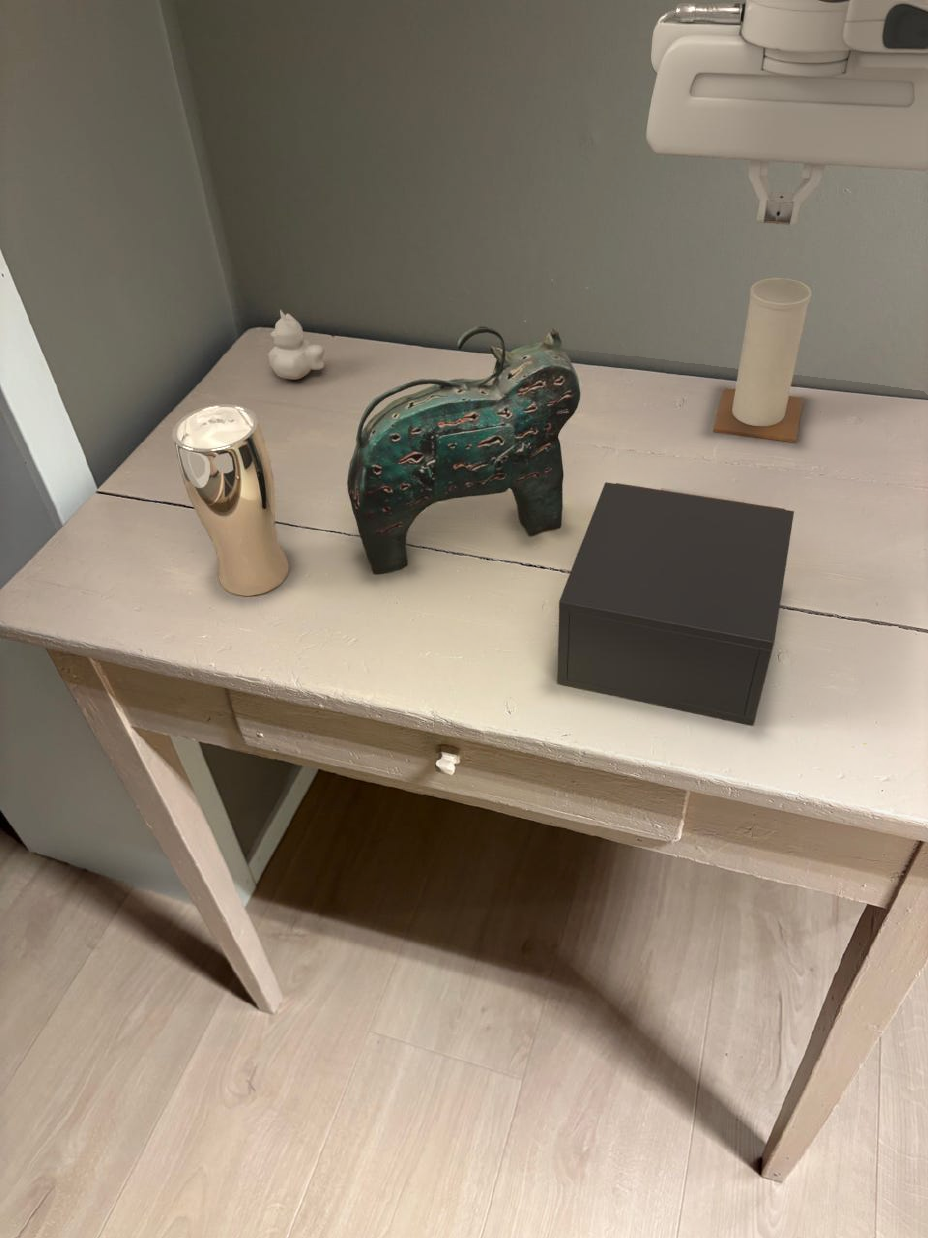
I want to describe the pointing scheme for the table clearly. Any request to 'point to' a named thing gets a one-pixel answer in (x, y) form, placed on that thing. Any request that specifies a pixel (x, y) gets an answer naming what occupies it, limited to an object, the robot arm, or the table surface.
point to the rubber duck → (293, 350)
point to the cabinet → (675, 601)
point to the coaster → (779, 431)
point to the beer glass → (233, 494)
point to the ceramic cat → (465, 446)
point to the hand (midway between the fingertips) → (777, 221)
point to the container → (770, 350)
